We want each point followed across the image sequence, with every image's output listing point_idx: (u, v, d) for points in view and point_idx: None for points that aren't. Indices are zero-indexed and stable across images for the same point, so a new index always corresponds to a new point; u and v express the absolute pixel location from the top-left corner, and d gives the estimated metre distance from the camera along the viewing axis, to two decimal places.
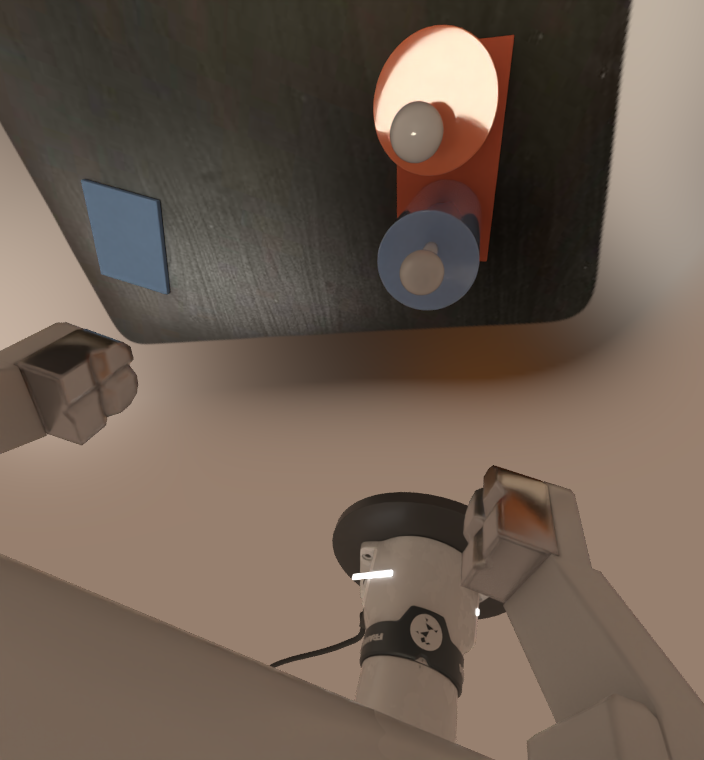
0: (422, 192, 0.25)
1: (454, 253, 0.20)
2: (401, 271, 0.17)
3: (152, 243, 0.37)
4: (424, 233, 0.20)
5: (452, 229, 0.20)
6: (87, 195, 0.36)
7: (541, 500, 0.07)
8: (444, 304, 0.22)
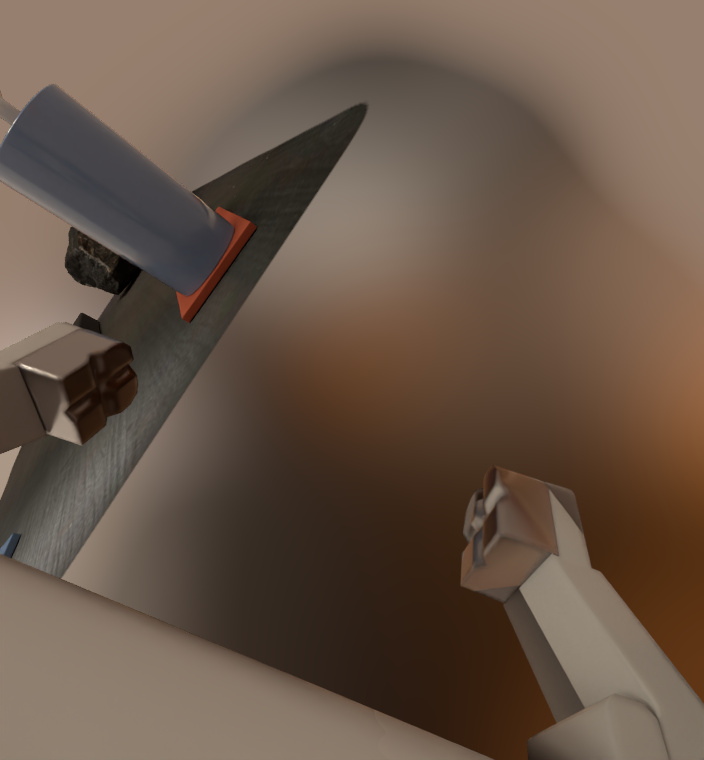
0: None
1: None
2: None
3: None
4: None
5: None
6: None
7: (541, 500, 0.07)
8: None
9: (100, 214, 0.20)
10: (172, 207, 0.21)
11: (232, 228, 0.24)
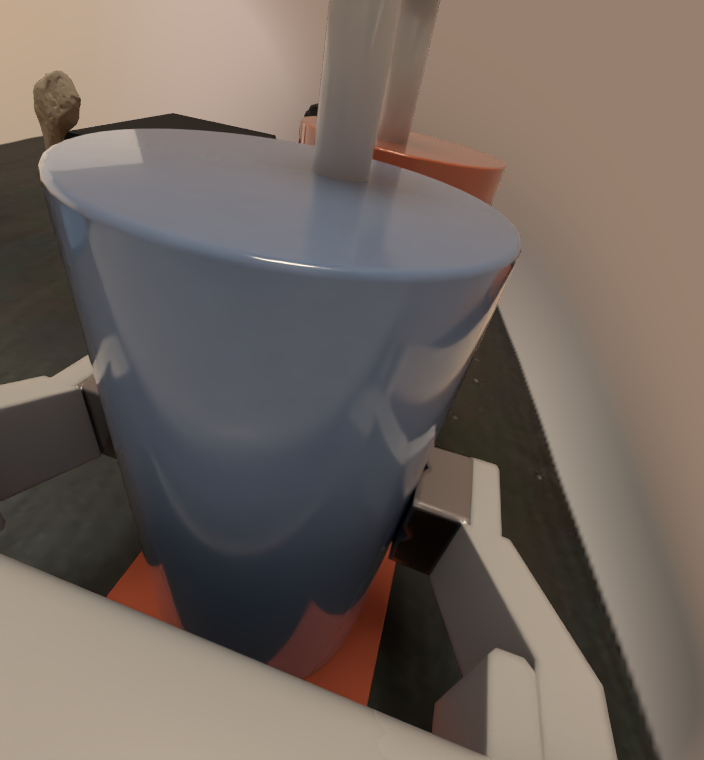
0: None
1: (423, 198, 0.05)
2: None
3: None
4: None
5: (422, 180, 0.06)
6: None
7: (463, 473, 0.07)
8: (332, 258, 0.03)
9: (142, 511, 0.06)
10: (291, 629, 0.07)
11: (343, 643, 0.10)
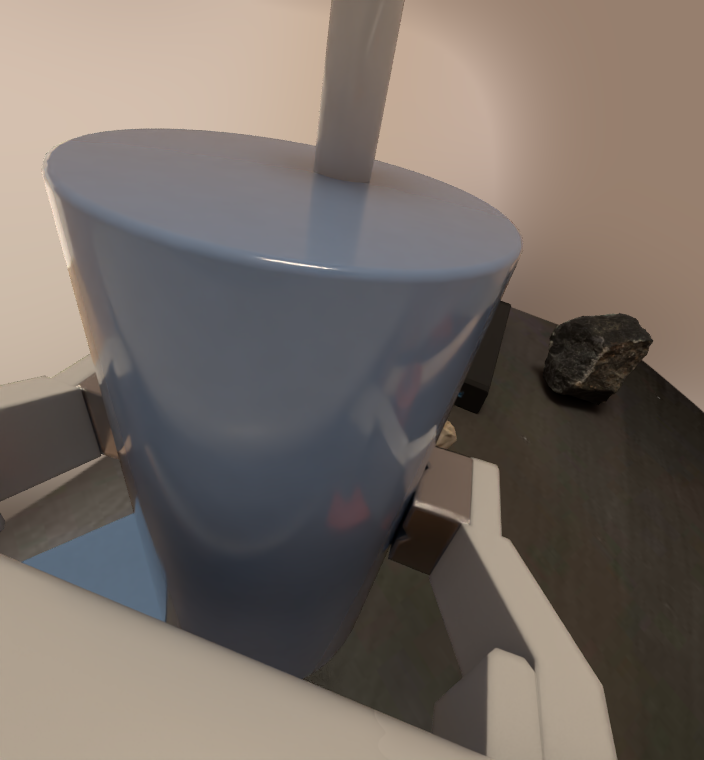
0: None
1: (424, 198, 0.05)
2: None
3: None
4: None
5: (422, 181, 0.06)
6: (134, 518, 0.26)
7: (463, 473, 0.07)
8: (335, 258, 0.03)
9: (144, 511, 0.06)
10: (292, 629, 0.07)
11: (344, 642, 0.10)
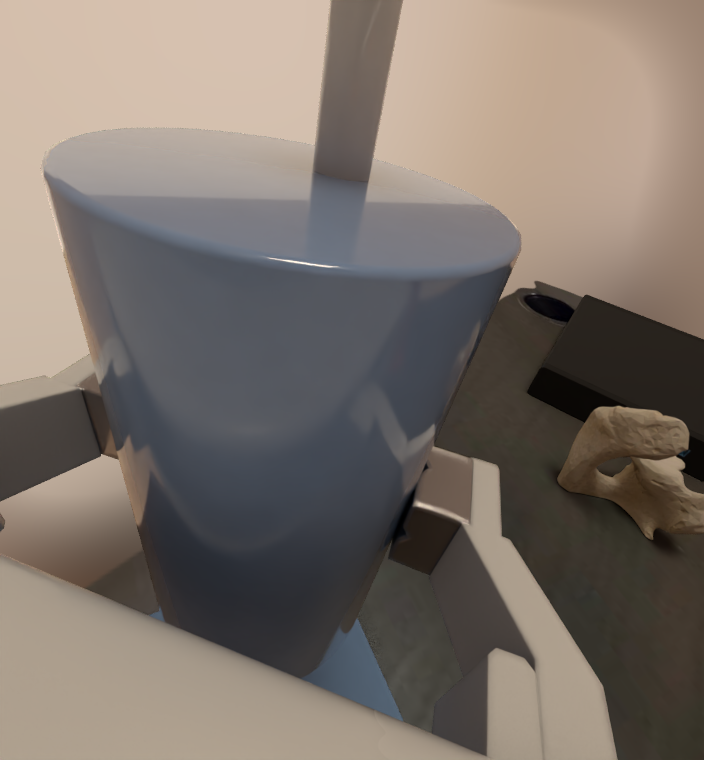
0: None
1: (423, 197, 0.05)
2: None
3: None
4: None
5: (422, 179, 0.06)
6: None
7: (463, 474, 0.07)
8: (333, 256, 0.03)
9: (143, 509, 0.06)
10: (291, 628, 0.07)
11: (343, 641, 0.10)
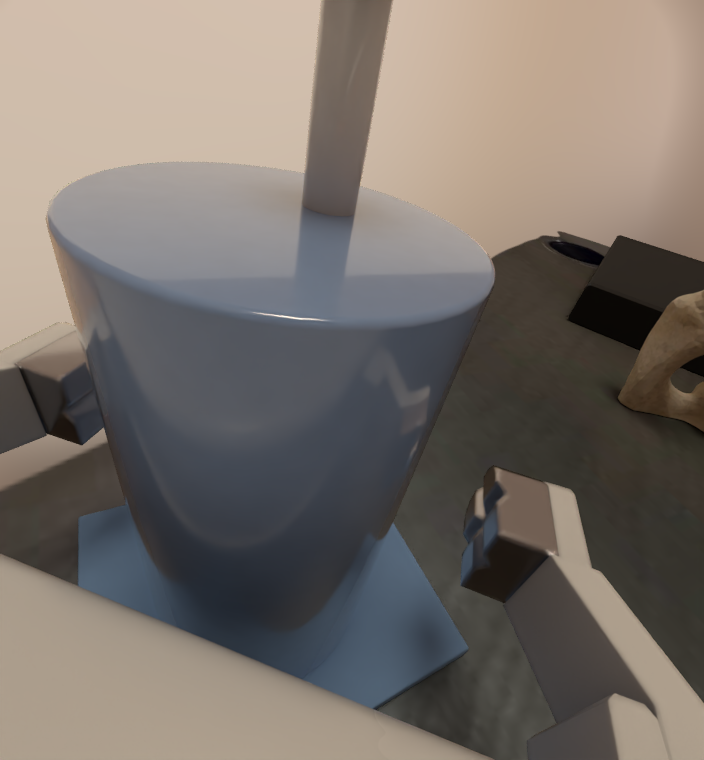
0: None
1: (406, 232, 0.06)
2: None
3: (321, 680, 0.10)
4: None
5: (407, 210, 0.06)
6: None
7: (541, 500, 0.07)
8: (313, 309, 0.03)
9: (141, 525, 0.06)
10: (283, 635, 0.07)
11: (336, 646, 0.10)
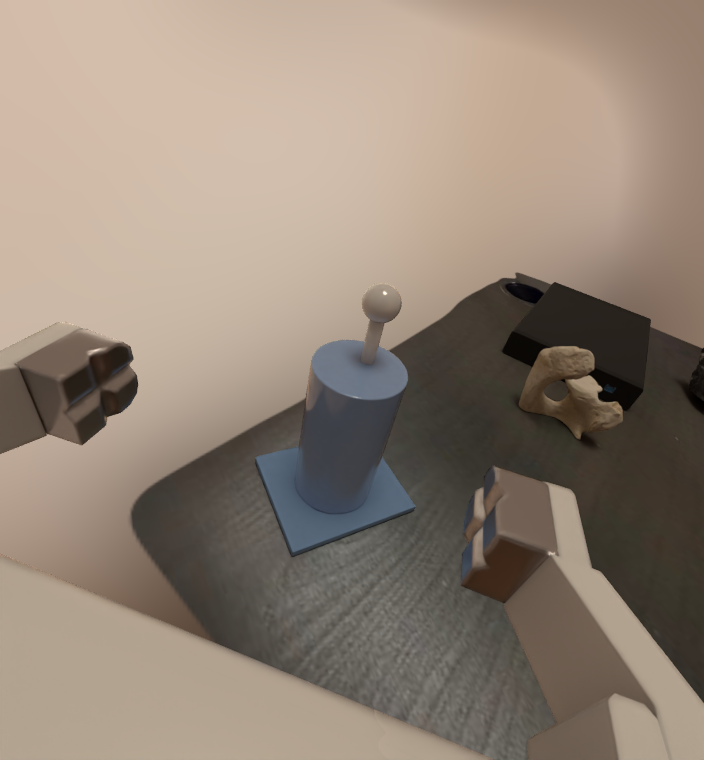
0: None
1: (387, 368, 0.22)
2: None
3: (359, 512, 0.26)
4: None
5: (388, 356, 0.23)
6: None
7: (541, 500, 0.07)
8: (369, 396, 0.20)
9: (317, 443, 0.22)
10: (351, 481, 0.24)
11: (363, 502, 0.27)
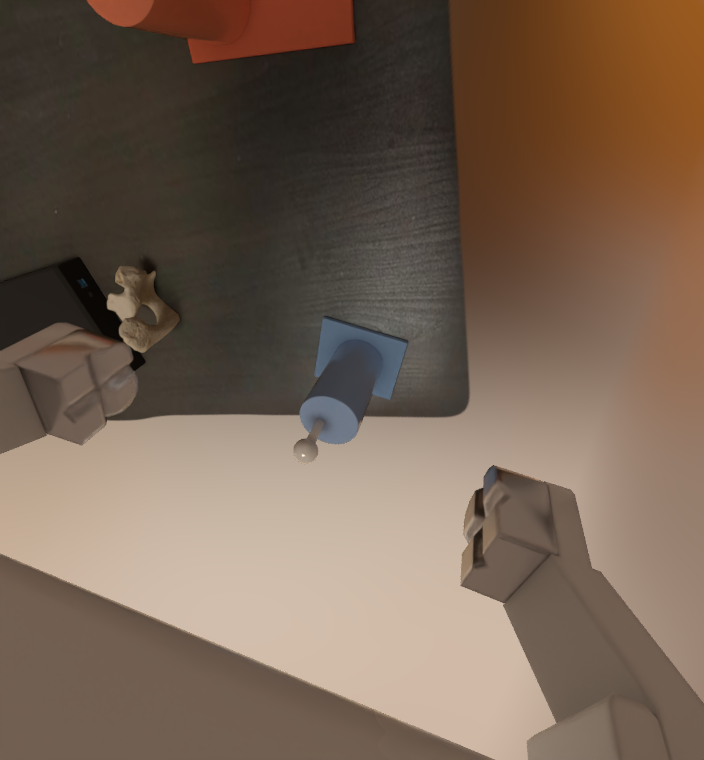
0: None
1: (313, 411, 0.34)
2: (307, 463, 0.32)
3: (358, 337, 0.41)
4: None
5: (305, 417, 0.35)
6: None
7: (541, 500, 0.07)
8: (340, 403, 0.33)
9: (369, 392, 0.37)
10: (359, 359, 0.38)
11: (351, 340, 0.41)
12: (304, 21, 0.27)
